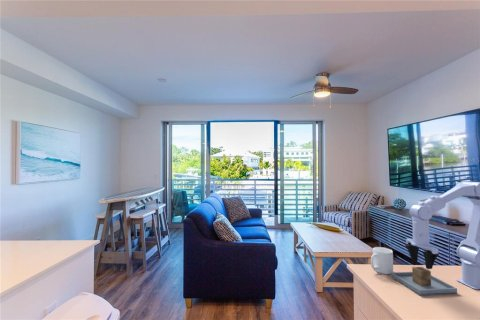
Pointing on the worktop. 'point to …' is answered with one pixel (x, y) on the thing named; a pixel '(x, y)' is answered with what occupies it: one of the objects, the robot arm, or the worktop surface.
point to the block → (421, 276)
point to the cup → (382, 260)
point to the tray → (434, 289)
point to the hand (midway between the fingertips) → (421, 264)
